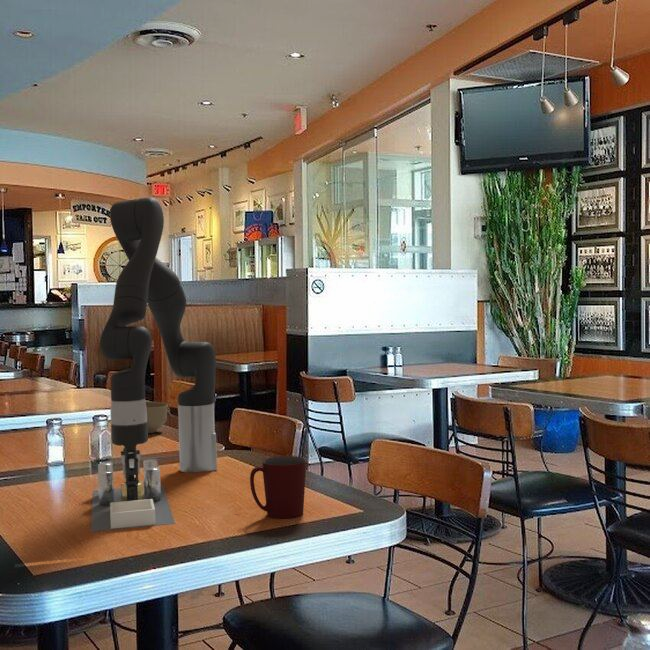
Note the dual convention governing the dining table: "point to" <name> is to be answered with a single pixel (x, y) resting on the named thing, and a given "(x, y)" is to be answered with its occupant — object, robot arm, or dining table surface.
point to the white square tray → (132, 513)
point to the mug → (282, 486)
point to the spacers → (150, 482)
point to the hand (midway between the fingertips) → (132, 499)
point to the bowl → (156, 415)
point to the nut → (140, 491)
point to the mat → (102, 513)
